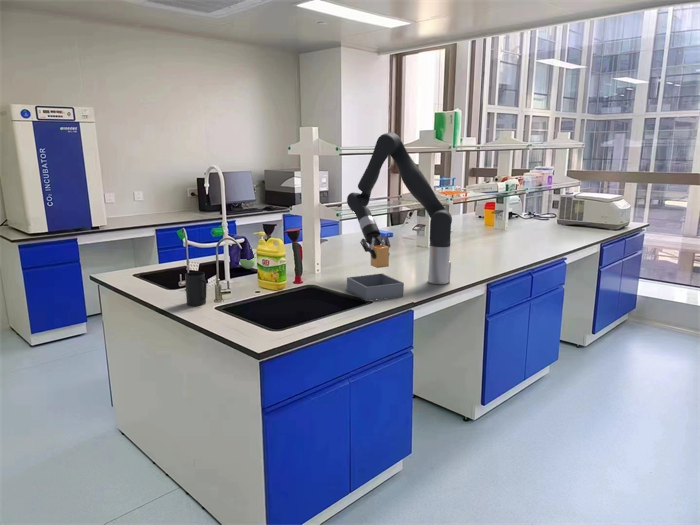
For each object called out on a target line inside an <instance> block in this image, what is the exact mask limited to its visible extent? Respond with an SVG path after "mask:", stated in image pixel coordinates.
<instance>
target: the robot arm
mask: <svg viewBox="0 0 700 525" xmlns="http://www.w3.org/2000/svg"><path fill="white" fill-rule="evenodd" d="M389 156H390V157H391V158H392V160H394V162H395V164H396V166H397V169H398V171H399V174H400V178H401V181H402V182H403V184H404V186H405V187H406V189H407V190H408V192H409V193H410V194H411V196H413V198H414V199H416V201H418V203H419V204H420V205H421V206H422V207H423V208H424V209H425V211H426V212H427V214H428V216H429V218H430V222H429V255H428V256H429V257H428V272H427V274H428V276H427V282H428V283H429V284H435V285H447V284H448V283H450V282H451V272H452V271H451V269H452V262H451V261H450V255H451V240H452V239H451V235H452V234H451V233H452V232H451V230H452V223H453V218H452V215H451V213H450V211H449V210H448V209H447V208H446V207H445V206H444V205H443V204H442V203H441V201H440V200H439V198H438V197H437V195H436V194H435V192H434V190H433V188H432V186H431V185H430V183H429V182H428V180H427V178H426V177H425V176H424V174H423V172H422V171H421V170H420V168H419V167H418V166H417V164H416V163H415V160H413V158H412V157H411V156H410V154H409V153H408V150H407V149H406V147H405V145H404V143H403V141H402V140H401V138H400V136H399V135H398V134H397V133H394V132H386V133H383V134H381V135H379V137H378V138H377V140H376V142H375V146H374V148H373V153H372V154H371V157H370V158H369V159H370V160H369V162H368V164H367V167H366V169H365V171H364V173H363V174H362V176H361V178H360V180H359V182H358V184H357V188H358V190H359V191H361V193H359V192H350V193H349V194H348V195H347V197H346V203H347V205H348V207H349V209H350V210H351V211H352V212H353V211H354V212H355V214H356V215H355V214H354V215H355V216H356V219H357V218H358V219H357V221H358V224H359V227H360V230H361V233H362V235H363V238H361V240H360V242H359V243H360V245H361V246H362V248H363V250H364V252H366V253H367V252H369V253H370V257H371V256H372V258H373V259H376V254H375V251H374V250H373V247H374V246H376V245H383V246H387V247H389V249H390V248H391V243H390V239H389V236H384V237H383V236H382V235H381V231H380V228H379V226H378V224H377V222H376V220H375V218H374V217H373V215H372V212H371V210H370V208H368V205H369V203H370V199H371V194H372V191H373V189H374V186H375V185H376V184H377V181H378V179H379V177H380V173H381V170H382V167H383V165H384V163H385V162H386V160H387V158H389ZM389 256H391V255H390V252H389Z"/></svg>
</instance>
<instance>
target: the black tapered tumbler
mask: <svg viewBox="0 0 700 525" xmlns="http://www.w3.org/2000/svg"><path fill="white" fill-rule="evenodd" d="M184 279H185V280H184V282H185V296H186V305H187V306H189V307H200V306H203V305H206V304H207V285H208V284H207V283H208V282H207V280H206V278H205V272H203V271H189V272H186V273H185V274H184Z"/></svg>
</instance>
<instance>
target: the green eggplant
mask: <svg viewBox="0 0 700 525" xmlns="http://www.w3.org/2000/svg"><path fill="white" fill-rule="evenodd" d="M250 246H251V247H250V248H252V247H254V246H253V245H250ZM254 250H255V248H253V249H252V251H253V254H254V258H253V259H251V260H247V259H240V261H239V264H240V265H241V267H242V268H244V269H246V270H251V269H253V268H254V266H255V264H256V259H257V257H256V252H254Z"/></svg>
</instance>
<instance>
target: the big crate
mask: <svg viewBox="0 0 700 525" xmlns="http://www.w3.org/2000/svg"><path fill="white" fill-rule="evenodd" d="M404 285H405V284H404V282H403V281H400V280H398V279H395V278H394V277H391V276H390V275H387V274H384V273H374V274H363V275H355V276H348V277H346V291H348V292H349V293H350V292H351V293H350V294H352V295H354V296H356V297H357V296H358V297H357V298H359V297H360V298H359V299H361V298H362V299H361V300H363V301H364V300H365V301H364V302H366V301H367V302H370V301H369V300H374V301H377V300H376V299H381V300H386V299H385V298H388V299H394V297H395V298H399V297H400V298H401V297H404V290H405V288H404V287H405V286H404Z"/></svg>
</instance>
